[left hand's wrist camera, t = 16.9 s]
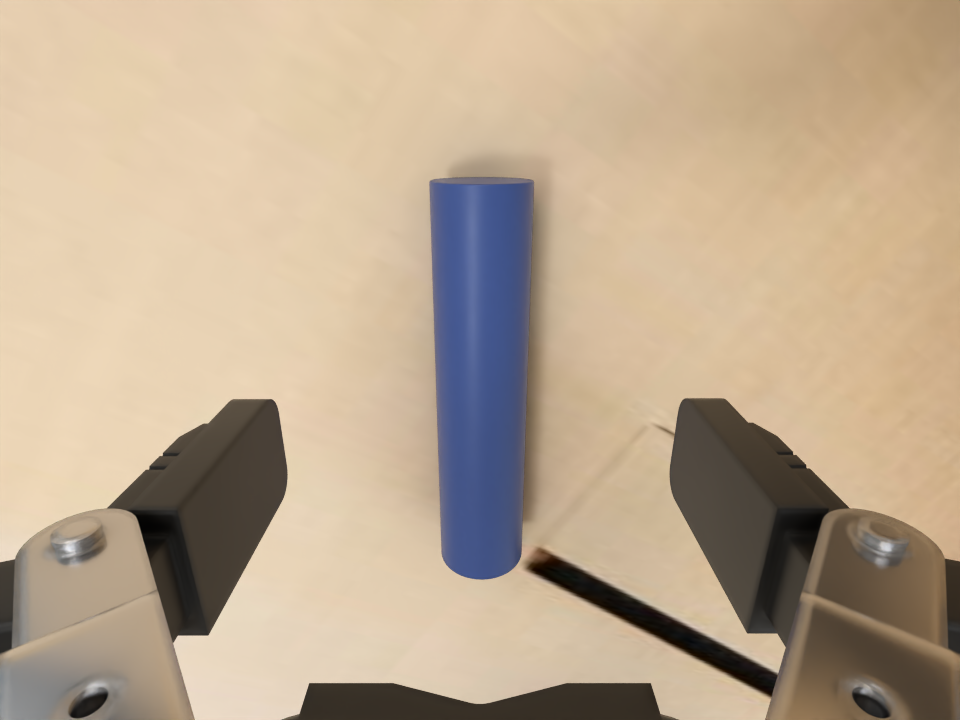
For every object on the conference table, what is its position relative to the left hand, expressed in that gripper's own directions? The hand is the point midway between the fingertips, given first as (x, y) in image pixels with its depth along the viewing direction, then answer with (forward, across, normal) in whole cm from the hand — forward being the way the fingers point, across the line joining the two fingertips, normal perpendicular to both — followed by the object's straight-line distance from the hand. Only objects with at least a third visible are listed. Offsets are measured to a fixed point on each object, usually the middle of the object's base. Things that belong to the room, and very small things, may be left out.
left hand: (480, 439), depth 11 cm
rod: (+25, 0, -9) cm, 27 cm away
